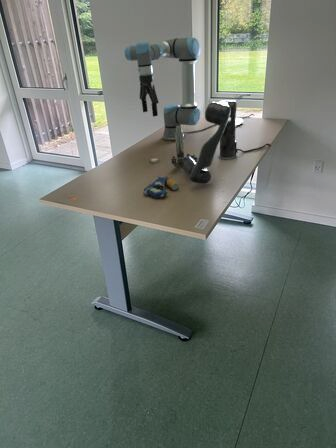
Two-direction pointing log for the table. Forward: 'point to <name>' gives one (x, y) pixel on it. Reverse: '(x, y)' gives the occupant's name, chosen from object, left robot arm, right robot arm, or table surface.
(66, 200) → the table surface
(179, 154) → the bottle
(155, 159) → the cap
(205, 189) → the table surface
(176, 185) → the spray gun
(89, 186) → the table surface
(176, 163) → the right robot arm
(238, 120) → the spoon
